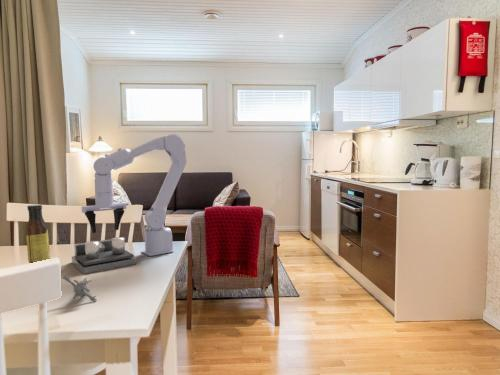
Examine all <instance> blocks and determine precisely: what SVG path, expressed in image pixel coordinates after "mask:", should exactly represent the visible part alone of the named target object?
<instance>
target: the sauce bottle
mask: <svg viewBox="0 0 500 375" xmlns="http://www.w3.org/2000/svg"><path fill="white" fill-rule="evenodd" d="M26 207H27V211H28V221H27V223H26V225H25V231H26V232H25V233H26V234H25V236H26V237H25V238H26V247H27V248H26V249H27V260H28V264H29V263H33V262H37V261H42V260H46V259H50V260H51V251H50V249H51V248H50V239H49V238H50V237H49V229H48V226H47V223H46V222H45V220H44V217H43V211H42V209H43V205H42V204H38V203H37V204H29V205H27V206H26Z"/></svg>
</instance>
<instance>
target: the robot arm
mask: <svg viewBox="0 0 500 375" xmlns="http://www.w3.org/2000/svg"><path fill="white" fill-rule="evenodd" d="M185 148H186V144H185V143H184V141H183V139H182V137H181V136H180V135H178V134H176V133H171V134H168V135H167V136H166V135H165V136H161V137H156V138H154V139H151V140H149V141H147V142H145V143H143V144H141V145H138V146H136V147H134V148H132V149H129V148H126V147H124V148H121V147H119V148H118V149H117V150H116V151H114V152H111V153H109V154H108V153H107V154H104V156H103V157H98V158H97V159H96V160H95V161H94V163H93V169H94V171H95V172H94V181H93V182H94V196H95V204H93V205H84V206H81V213H83V214H84V215H85V217H86V218H87V221H88V223H89V225H90V228H91V233H92V234H96V233H97V228H96V218H97V216H96V215H97V214H96V213H95V212H102V211H103V212H104V211H105V212H106V211H112V212H113V219H114V230H115V231H119V228H120V223H121V221H122V218H123V215H125V214H124V213H125V210H126V209H127V203H125V202H122V203H121V202H120V203H114V192H113V179H112V170H114V171H117V170H118V169H121V168H123V167H126V166H127V165H130V164H133V162H134V159H135V158H136V157H139V156H142V155H144V154H147V153H149V152H153V151H155V150H157V151H158V150H159V151H163V150H164V152H166V154H167V155H169V159H170V161H171V164H170V167H169V169H168V172H167V173H166V176H165V178H164V180H163V183H162V185H161V187H160V189H159V192H158V194H157V196H156V199H155V200H154V202H153V203H152V205H151V207H150V209H148V211H147V212H145V214H144V221H145V223H146V226H145V227H144V249H143V250H141V252H140V253H143V254H145V255H146V256H148V257H152V256H158V255H163V254H169V253H173V252H174V250H173V248H174V247H173V233H172V230H171V228H170V227H165V225H164V224H165V217H166V213H167V210H168V209H167V208H168V205H169V204H170V202H171V199H172V197H173V195H174V192H175V190H176V187H177V185H178V184H179V181H180V178H181V176H182V174H183V171H184V170H185V168H186V166H187V155H186V154H187V153H186V149H185Z"/></svg>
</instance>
